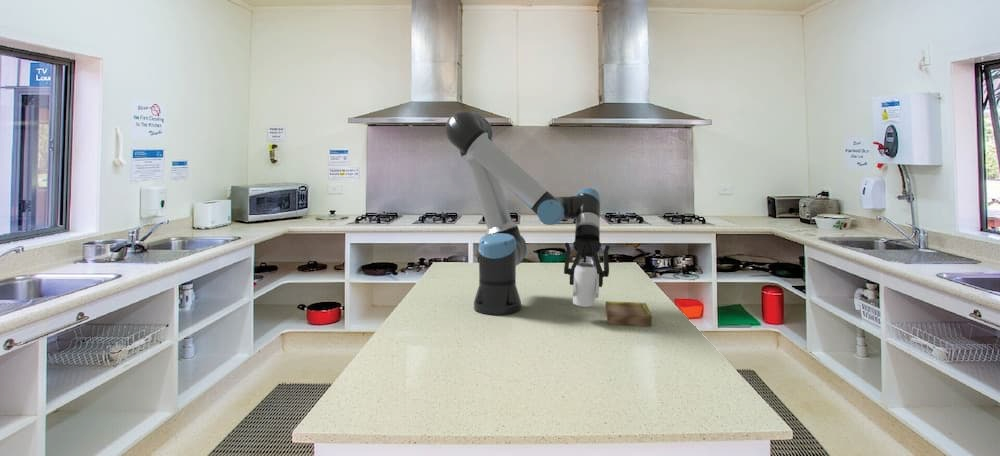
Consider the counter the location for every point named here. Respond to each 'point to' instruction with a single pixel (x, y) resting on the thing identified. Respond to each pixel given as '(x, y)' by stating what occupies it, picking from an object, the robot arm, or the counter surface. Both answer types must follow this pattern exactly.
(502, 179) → the robot arm
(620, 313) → the dock
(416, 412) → the counter surface
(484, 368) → the counter surface
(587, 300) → the can
